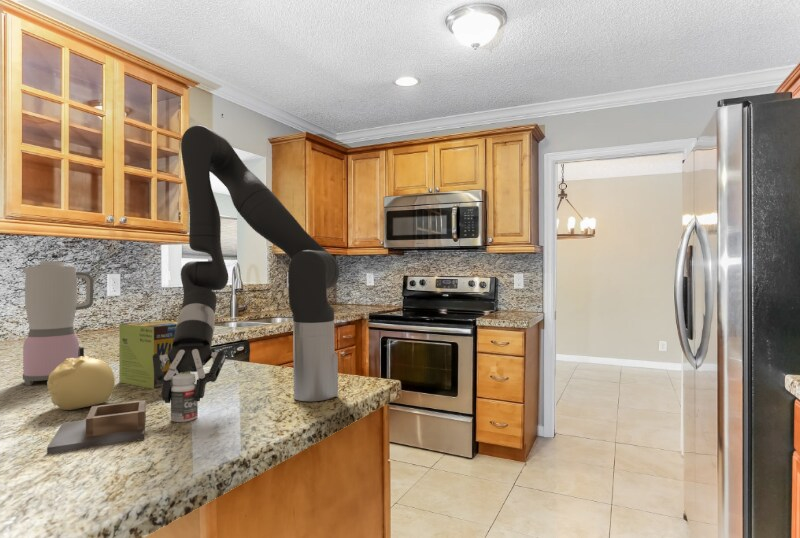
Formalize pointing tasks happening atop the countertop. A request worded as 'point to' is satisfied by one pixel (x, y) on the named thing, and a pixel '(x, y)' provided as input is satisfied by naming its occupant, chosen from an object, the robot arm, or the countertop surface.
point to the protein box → (144, 351)
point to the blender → (52, 317)
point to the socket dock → (102, 427)
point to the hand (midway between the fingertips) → (182, 399)
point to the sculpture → (80, 383)
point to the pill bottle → (183, 398)
